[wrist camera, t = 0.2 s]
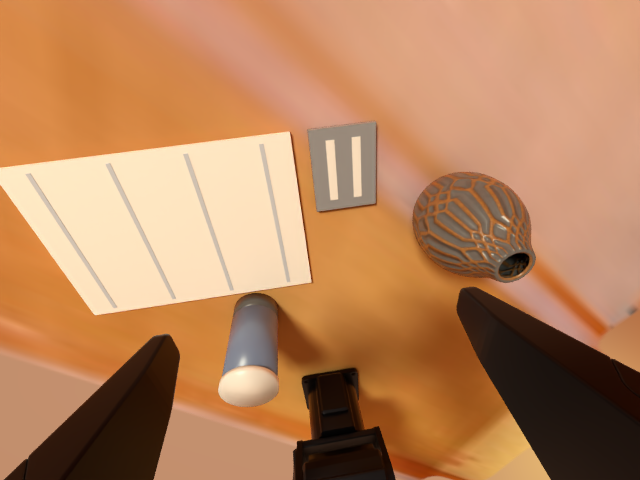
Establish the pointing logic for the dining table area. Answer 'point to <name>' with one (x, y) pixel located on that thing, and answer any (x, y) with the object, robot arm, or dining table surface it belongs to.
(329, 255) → the dining table surface
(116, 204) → the paper
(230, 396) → the grey capped bottle
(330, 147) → the grey striped tile
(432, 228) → the vase
